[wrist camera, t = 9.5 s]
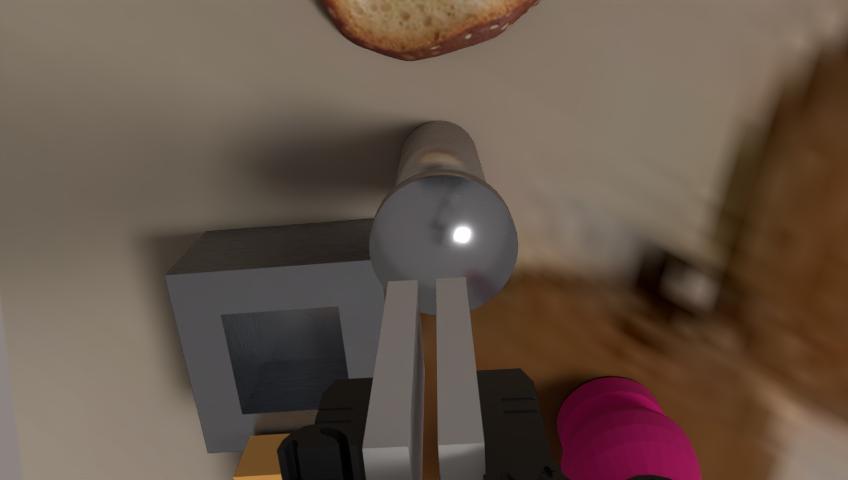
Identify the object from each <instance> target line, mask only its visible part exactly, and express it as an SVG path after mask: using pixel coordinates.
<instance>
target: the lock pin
mask: <svg viewBox="0 0 848 480" xmlns="http://www.w3.org/2000/svg"><path fill="white" fill-rule="evenodd" d="M290 434H291V433H289V434H273V435H258V436H250V438H249V440H248V443H247V445H246V448H245V450H244V453H243V455H242V457H241V460H240V462H239V465H238V467H237V469H236V472H235V474H234V477H233V478H234V480H282V477H281V471H280V466H279V460H278V454H277V449H278V447H279V445H280V444H281V442H282V440H283V439H285V438H286V437H287V436H288V435H290Z"/></svg>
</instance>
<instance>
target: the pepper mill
mask: <svg viewBox="0 0 848 480" xmlns="http://www.w3.org/2000/svg"><path fill="white" fill-rule="evenodd" d="M557 431H558V435H559V439H560V442H561V445H562V449H563V453H562V457H561V471H562V473H563V474H564V475H565V476H566V477H568V478H569V479H570V480H626V479H628V478H631V477H634V476H636V475H657V476H662V477H667V478H670V479H672V480H702V479H701V473H700V466H699V462H698V459H697V456H696V454H695V452H694V449H693V447H692V445H691V443H690V441H689V438H688V437H687V435H686V434H685V432H684V431H683V430H682V429H681V428H680V426H678V425H677V424H676V423H675V422H674V421H673V420H671V419H670V418H668V417H667V416H665V415H664V413H663V411H662V409H661V407H660V406H659V404H658V402H657V400H656V399H655V397H654V395H653V394H652V393H651V392H650V391H649V390H648V389H647V388H646V387H644V386H643V385H641V384H639V383H637V382H635V381H633V380H630V379H626V378H619V377H607V378H600V379H596V380H593V381H590V382H588V383H585V384H583V385H582V386H580V387H579V388H577V389H576V390H574V391H573V392H572V393H571V394H570V395H569V396H568V397H567V398H566V400H565V401H564V403H563V404H562V406H561V408H560V410H559V413H558V417H557Z"/></svg>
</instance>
